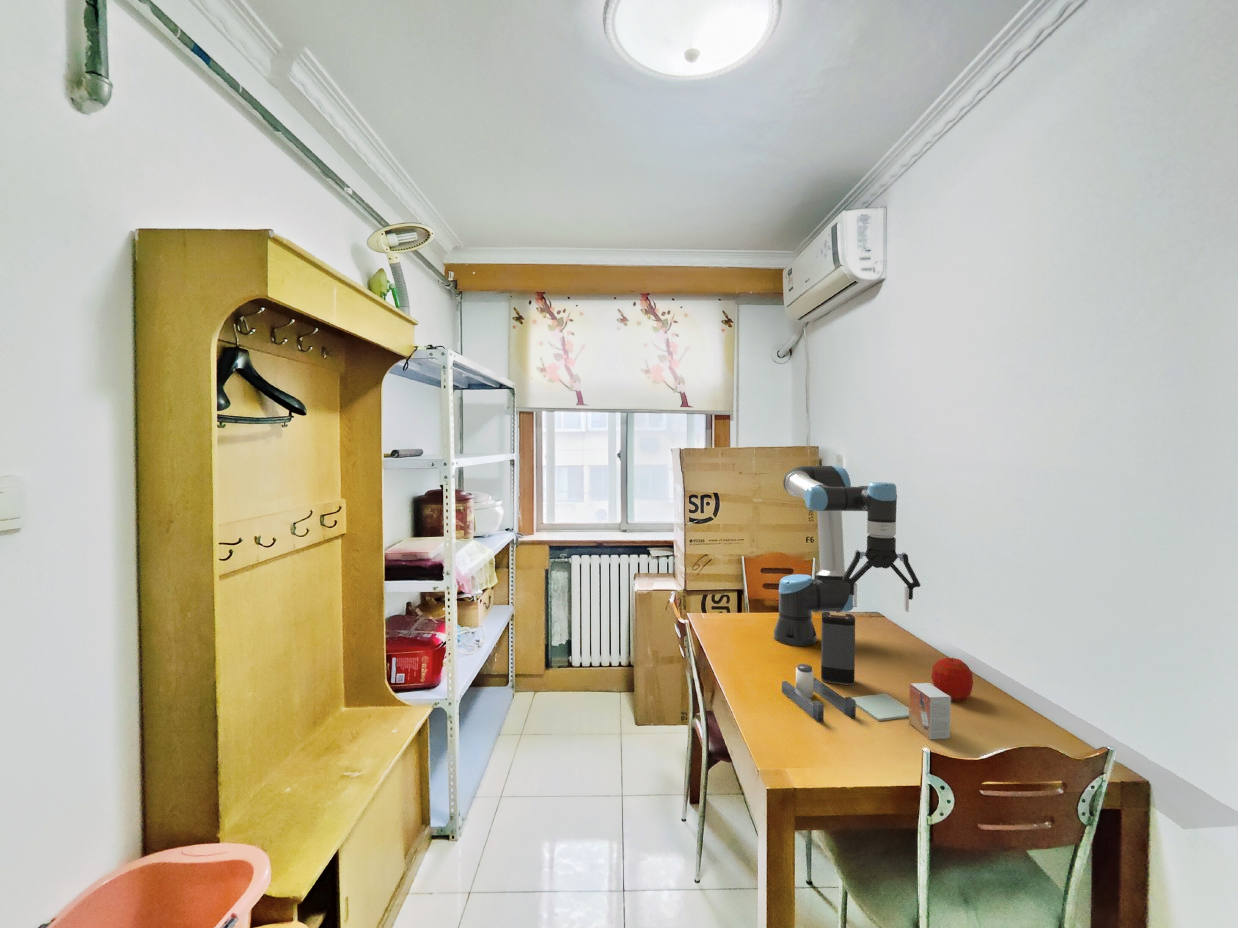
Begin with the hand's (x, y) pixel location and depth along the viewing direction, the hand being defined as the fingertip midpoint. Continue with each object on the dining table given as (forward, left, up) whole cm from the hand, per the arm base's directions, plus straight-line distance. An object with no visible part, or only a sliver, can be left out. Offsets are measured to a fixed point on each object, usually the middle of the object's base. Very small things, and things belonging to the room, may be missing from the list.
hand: (880, 608), depth 157 cm
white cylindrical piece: (-2, -23, -24) cm, 33 cm away
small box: (+23, -4, -24) cm, 34 cm away
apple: (+9, +17, -24) cm, 31 cm away
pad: (+10, -7, -24) cm, 27 cm away
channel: (+4, -23, -24) cm, 33 cm away
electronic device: (-8, -8, -24) cm, 27 cm away
